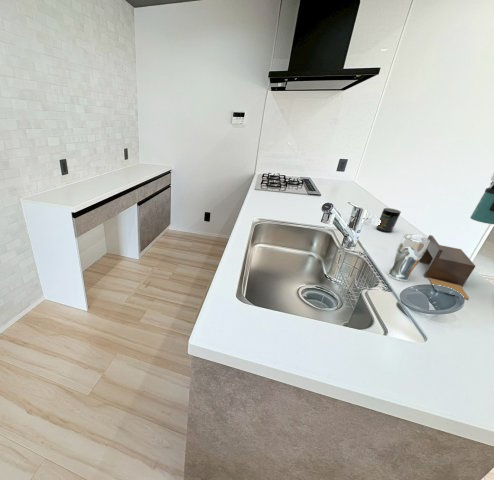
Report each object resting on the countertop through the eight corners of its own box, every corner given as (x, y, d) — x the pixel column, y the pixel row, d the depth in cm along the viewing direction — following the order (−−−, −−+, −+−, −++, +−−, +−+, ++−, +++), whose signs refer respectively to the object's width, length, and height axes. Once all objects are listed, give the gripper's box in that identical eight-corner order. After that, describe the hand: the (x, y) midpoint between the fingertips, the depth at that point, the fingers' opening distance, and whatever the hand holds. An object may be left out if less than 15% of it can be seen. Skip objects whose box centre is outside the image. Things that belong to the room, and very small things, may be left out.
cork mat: (459, 286, 86) (460, 285, 86) (468, 299, 80) (469, 298, 80) (428, 279, 90) (429, 277, 90) (434, 291, 84) (435, 289, 84)
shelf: (450, 267, 97) (465, 241, 93) (462, 286, 87) (480, 258, 82) (416, 260, 102) (429, 235, 97) (424, 276, 91) (439, 249, 86)
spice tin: (494, 219, 77) (513, 190, 73) (504, 226, 73) (524, 195, 69) (466, 215, 80) (482, 186, 76) (473, 221, 76) (491, 191, 72)
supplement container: (390, 234, 125) (399, 213, 120) (374, 229, 129) (382, 209, 124) (393, 230, 129) (402, 210, 124) (377, 226, 133) (385, 207, 129)
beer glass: (410, 284, 87) (430, 245, 80) (384, 276, 91) (402, 238, 84) (411, 276, 91) (431, 238, 85) (387, 268, 95) (404, 231, 89)
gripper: (576, 146, 58) (526, 220, 66) (535, 141, 72) (497, 203, 80) (527, 143, 62) (485, 214, 70) (496, 139, 75) (464, 199, 83)
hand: (492, 207), depth 75 cm, fingers closed on spice tin, 6 cm apart
